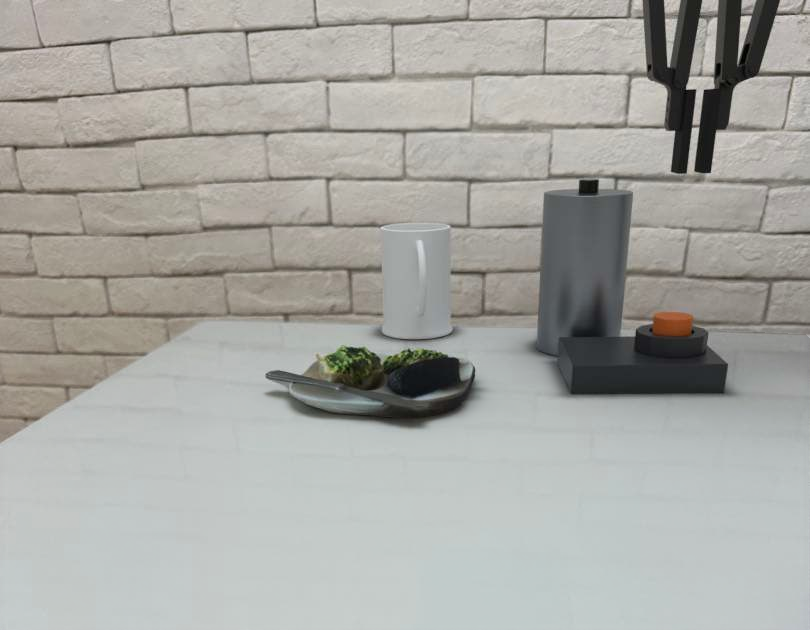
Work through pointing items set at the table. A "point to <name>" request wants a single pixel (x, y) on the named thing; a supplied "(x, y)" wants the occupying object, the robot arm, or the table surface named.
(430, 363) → the salad plate
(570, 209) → the grey canister
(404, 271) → the mug
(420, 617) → the table surface
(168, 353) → the table surface
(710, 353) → the dark grey button base
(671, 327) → the kettle button
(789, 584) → the table surface
